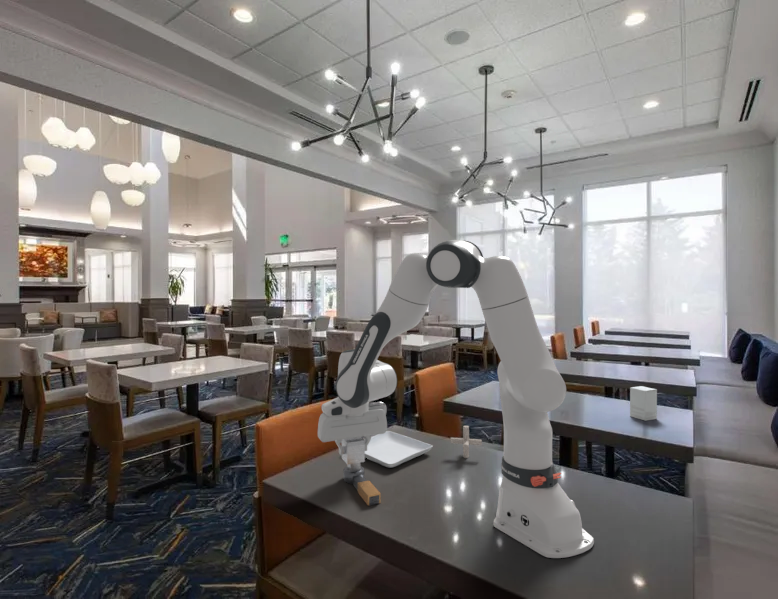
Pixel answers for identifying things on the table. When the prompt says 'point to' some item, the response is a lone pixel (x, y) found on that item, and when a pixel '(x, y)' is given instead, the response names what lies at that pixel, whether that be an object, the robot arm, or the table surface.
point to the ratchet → (361, 483)
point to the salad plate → (394, 449)
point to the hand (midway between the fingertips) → (353, 452)
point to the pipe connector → (466, 441)
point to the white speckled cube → (354, 450)
